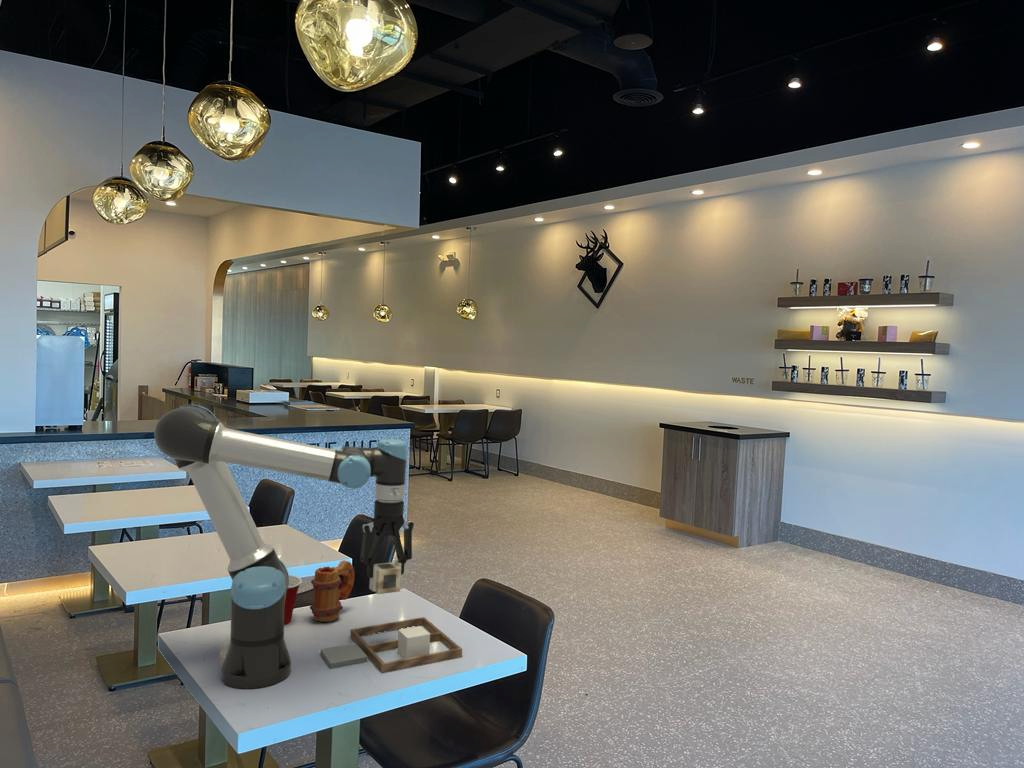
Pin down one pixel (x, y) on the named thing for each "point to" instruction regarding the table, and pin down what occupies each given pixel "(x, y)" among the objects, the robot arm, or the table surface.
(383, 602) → the table surface
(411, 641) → the blank block
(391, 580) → the letter cube
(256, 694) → the table surface
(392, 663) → the box
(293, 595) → the plastic cup
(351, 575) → the mug
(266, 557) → the robot arm
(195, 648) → the table surface
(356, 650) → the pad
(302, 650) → the table surface
